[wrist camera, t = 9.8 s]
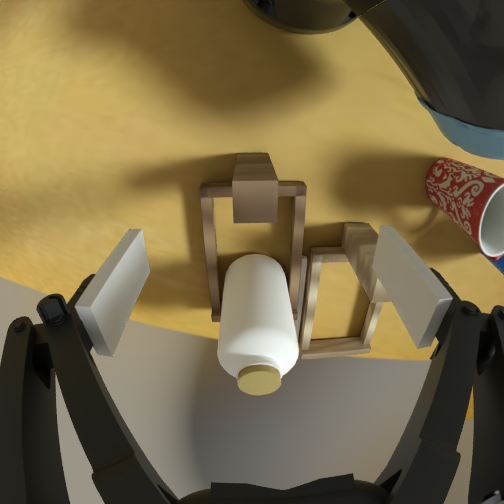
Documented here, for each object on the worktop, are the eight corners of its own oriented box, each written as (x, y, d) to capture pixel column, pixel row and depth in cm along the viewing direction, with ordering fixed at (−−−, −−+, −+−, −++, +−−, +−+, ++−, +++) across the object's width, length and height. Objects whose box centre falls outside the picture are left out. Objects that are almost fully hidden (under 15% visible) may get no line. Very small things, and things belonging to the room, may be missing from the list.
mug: (411, 168, 33) (473, 205, 22) (456, 141, 31) (523, 168, 19) (434, 239, 39) (483, 291, 27) (474, 212, 36) (528, 254, 25)
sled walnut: (200, 154, 32) (177, 183, 22) (304, 153, 32) (332, 181, 22) (213, 308, 43) (205, 371, 33) (294, 306, 43) (306, 369, 33)
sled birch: (312, 223, 37) (337, 276, 26) (395, 223, 37) (439, 271, 26) (299, 346, 48) (309, 404, 37) (364, 340, 48) (384, 394, 37)
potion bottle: (212, 270, 41) (195, 377, 25) (263, 239, 38) (273, 342, 23) (248, 308, 44) (249, 413, 28) (295, 281, 42) (318, 386, 26)
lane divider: (301, 255, 40) (302, 258, 39) (306, 255, 40) (307, 258, 39) (293, 338, 47) (293, 342, 47) (297, 338, 47) (297, 342, 47)
